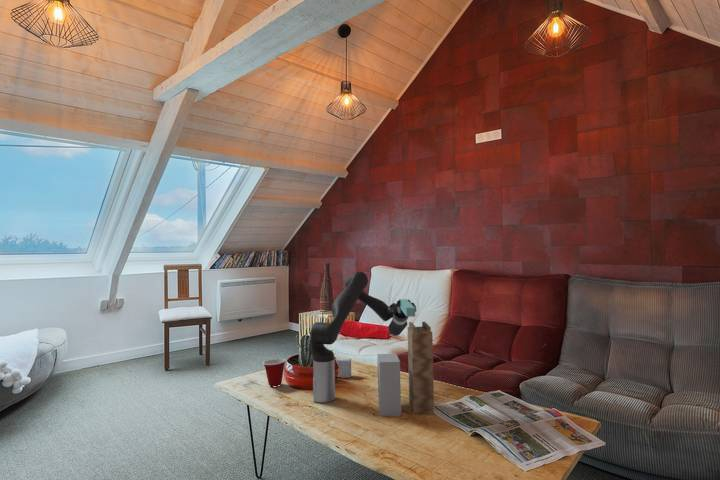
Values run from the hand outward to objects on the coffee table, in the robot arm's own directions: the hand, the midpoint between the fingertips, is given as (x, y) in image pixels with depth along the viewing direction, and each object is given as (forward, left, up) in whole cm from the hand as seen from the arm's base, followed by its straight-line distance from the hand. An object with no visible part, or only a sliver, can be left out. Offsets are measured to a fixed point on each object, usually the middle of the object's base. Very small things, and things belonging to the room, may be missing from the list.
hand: (404, 301), depth 190 cm
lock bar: (0, -7, -3) cm, 8 cm away
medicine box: (-29, +24, -41) cm, 55 cm away
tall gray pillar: (-10, -20, -41) cm, 46 cm away
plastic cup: (-62, +14, -41) cm, 75 cm away
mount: (+3, -20, -41) cm, 45 cm away
